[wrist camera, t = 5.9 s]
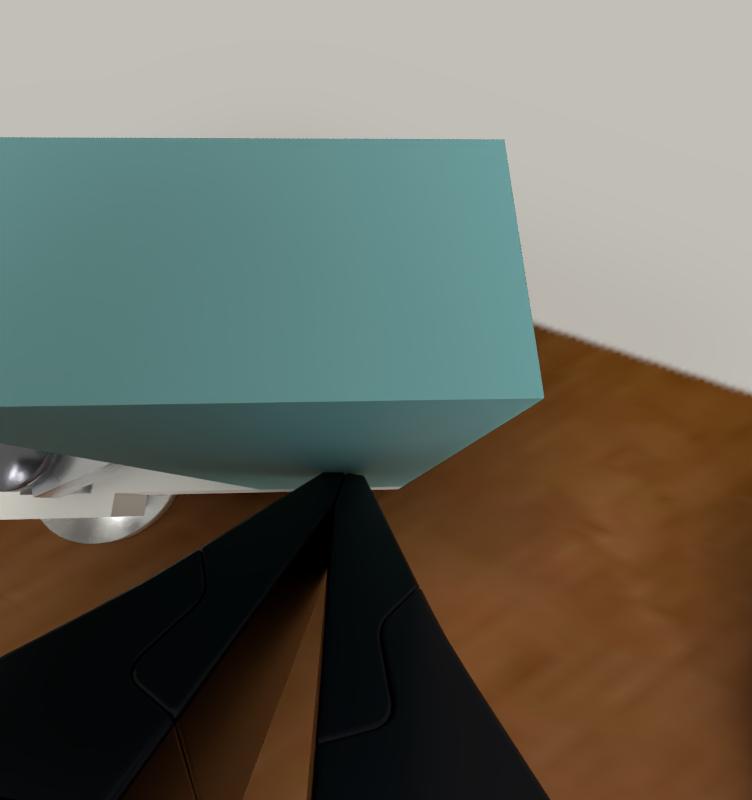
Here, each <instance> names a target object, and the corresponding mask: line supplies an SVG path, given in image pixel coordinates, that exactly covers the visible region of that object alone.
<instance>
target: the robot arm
mask: <svg viewBox="0 0 752 800" xmlns="http://www.w3.org/2000/svg"><path fill="white" fill-rule="evenodd" d="M326 572H327V579H326V590H325V601H324V612H323V623H322V634H321V645H320V656H319V667H318V678H317V689H316V700H315V711H314V722H313V733H312V744H311V755H310V766H309V777H308V788H307V799H306V800H550V799H549V797H548V795H547V794H546V792H545V791H544V789H543V788H542V786H541V785H540V783H539V782H538V780H537V778H536V777H535V775H534V774H533V772H532V771H531V769H530V768H529V766H528V765H527V763H526V761H525V760H524V758H523V757H522V755H521V754H520V752H519V751H518V749H517V748H516V746H515V744H514V743H513V741H512V740H511V738H510V737H509V735H508V734H507V732H506V731H505V729H504V727H503V726H502V724H501V723H500V721H499V720H498V718H497V717H496V715H495V714H494V712H493V710H492V709H491V707H490V706H489V704H488V703H487V701H486V700H485V698H484V697H483V695H482V693H481V692H480V690H479V689H478V687H477V686H476V684H475V683H474V681H473V680H472V678H471V677H470V675H469V673H468V672H467V670H466V668H465V667H464V665H463V664H462V662H461V660H460V659H459V657H458V655H457V654H456V652H455V651H454V649H453V647H452V646H451V644H450V643H449V641H448V639H447V637H446V636H445V634H444V632H443V630H442V628H441V626H440V625H439V623H438V621H437V619H436V617H435V615H434V613H433V612H432V610H431V608H430V606H429V604H428V602H427V600H426V598H425V596H424V594H423V592H422V590H421V589H419V585H418V583H417V581H416V579H415V577H414V575H413V573H412V571H411V569H410V567H409V565H408V563H407V561H406V559H405V557H404V555H403V553H402V551H401V549H400V547H399V545H398V543H397V541H396V539H395V537H394V535H393V532H392V530H391V528H390V526H389V524H388V522H387V520H386V518H385V516H384V514H383V512H382V510H381V508H380V506H379V504H378V502H377V500H376V498H375V496H374V494H373V492H372V490H371V488H370V486H369V484H368V482H367V480H366V478H365V477H364V476H363V475H358V474H352V473H347V474H346V475H345V473H343V472H322V473H321V474H319V475H318V476H316V477H314V478H313V479H311V480H310V481H308V482H306V483H305V484H303V485H301V486H300V487H298V488H297V489H295V490H293V491H292V492H290V493H289V494H287V495H285V496H284V497H282V498H281V499H279V500H277V501H276V502H274V503H273V504H271V505H269V506H268V507H266V508H265V509H263V510H261V511H260V512H258V513H257V514H255V515H253V516H252V517H250V518H248V519H247V520H245V521H244V522H242V523H240V524H239V525H237V526H236V527H234V528H232V529H231V530H229V531H228V532H226V533H224V534H223V535H221V536H220V537H218V538H216V539H215V540H213V541H212V542H210V543H208V544H207V545H205V546H204V547H202V548H201V551H200V550H196V551H194V552H192V553H191V554H189V555H188V556H186V557H184V558H183V559H181V560H180V561H178V562H176V563H175V564H173V565H171V566H170V567H168V568H166V569H164V570H163V571H161V572H159V573H158V574H156V575H154V576H153V577H151V578H149V579H148V580H146V581H144V582H142V583H141V584H139V585H137V586H135V587H133V588H131V589H130V590H128V591H126V592H124V593H122V594H120V595H118V596H117V597H115V598H113V599H111V600H109V601H107V602H105V603H104V604H102V605H100V606H98V607H96V608H94V609H92V610H90V611H88V612H87V613H85V614H83V615H81V616H79V617H77V618H75V619H73V620H71V621H69V622H67V623H65V624H63V625H61V626H60V627H58V628H56V629H54V630H52V631H50V632H48V633H46V634H44V635H42V636H40V637H38V638H36V639H34V640H33V641H31V642H29V643H27V644H25V645H23V646H21V647H19V648H17V649H15V650H13V651H11V652H9V653H8V654H6V655H4V656H2V657H0V800H242V798H243V795H244V793H245V790H246V787H247V785H248V782H249V779H250V777H251V774H252V771H253V769H254V766H255V763H256V761H257V758H258V755H259V753H260V750H261V747H262V745H263V742H264V739H265V737H266V734H267V731H268V728H269V726H270V723H271V720H272V718H273V715H274V712H275V710H276V707H277V704H278V702H279V699H280V696H281V694H282V691H283V688H284V686H285V683H286V680H287V678H288V675H289V672H290V670H291V667H292V664H293V661H294V659H295V656H296V653H297V651H298V648H299V645H300V643H301V640H302V637H303V635H304V632H305V629H306V627H307V624H308V621H309V619H310V616H311V613H312V611H313V608H314V605H315V603H316V600H317V597H318V595H319V592H320V589H321V586H322V584H323V581H324V578H325V575H326Z"/></svg>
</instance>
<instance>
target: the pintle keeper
mask: <svg viewBox="0 0 752 800" xmlns="http://www.w3.org/2000/svg"><path fill="white" fill-rule="evenodd" d="M128 467H130V466H124V465H119V464H113V463H107V462H102V461H96V460H91V459H85V458H79V457H74V456H68V455H62V454H57V453H51V452H46V451H40V450H34V449H29V448H23V447H17V446H12V445H6V444H0V492H20V491H24V490H28V489H30V488H31V490H32V494H33V497H40V498H61V497H63V496H65V495H68V494H87V493H91V491H92V486H93V483H95V482H97V481H99V480H101V479H104V478H106V477H108V476H110V475H113V474H115V473H117V472H119V471H122V470H124V469H126V468H128ZM177 495H178V494H166V495H147V501H146V508H145V515H144V516H128V517H93V518H51V519H41V520H42V522H43V523H44V524H45V525H46V526H47V527H48V528H49V529H50V530H51V531H52V532H54V533H55V534H57V535H58V536H60V537H62V538H64V539H67V540H70V541H73V542H77V543H84V544H98V543H105V542H113V541H118V540H122V539H126V538H128V537H131V536H133V535H136V534H138V533H139V532H141V531H143V530H145V529H146V528H148V527H149V526H151V525H152V524H153V523H155V522H156V521H157V520H158V519H159V518H160V517H161V516H162V515H163V514H164V513H165V512H166V511H167V510H168V509H169V507H170V506H171V504H172V503H173V502H174V500H175V499H176V497H177Z"/></svg>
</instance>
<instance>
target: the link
mask: <svg viewBox="0 0 752 800" xmlns="http://www.w3.org/2000/svg"><path fill="white" fill-rule="evenodd" d="M542 399H544V393H543V386H542V380H541V373H540V367H539V361H538V354H537V348H536V341H535V335H534V328H533V322H532V315H531V309H530V303H529V297H528V290H527V283H526V277H525V271H524V264H523V257H522V251H521V245H520V238H519V232H518V225H517V219H516V213H515V206H514V199H513V193H512V187H511V180H510V174H509V167H508V161H507V154H506V148H505V142H504V140H481V139H477V140H476V139H475V140H474V139H473V140H472V139H466V140H465V139H247V138H245V139H241V138H239V139H238V138H237V139H235V138H225V139H224V138H15V137H14V138H13V137H11V138H10V137H8V138H7V137H4V138H3V137H0V444H6V445H12V446H17V447H23V448H29V449H34V450H40V451H46V452H51V453H57V454H62V455H68V456H74V457H79V458H85V459H91V460H96V461H102V462H107V463H113V464H119V465H124V466H130V467H128V468H126V469H124V470H122V471H119V472H117V473H115V474H113V475H110V476H108V477H106V478H104V479H101V480H99V481H97V482H95V483H93V486H92V491H91V493H87V494H68V495H65V496H63V497H61V498H40V497H33V494H32V490H31V488H30V489H28V490H24V491H20V492H0V520H9V519H51V518H93V517H128V516H144V515H145V508H146V501H147V495H166V494H210V493H255V492H292V491H293V490H295V489H297V488H298V487H300V486H301V485H303V484H305V483H306V482H308V481H310V480H311V479H313V478H314V477H316V476H318V475H319V474H321V473H322V472H343V473H345V475H346V474H347V473H352V474H358V475H363V476H364V477H365V478H366V480H367V482H368V484H369V486H370V488H371V490H388V489H399V488H401V487H403V486H404V485H406V484H407V483H409V482H411V481H412V480H414V479H415V478H417V477H419V476H420V475H422V474H423V473H425V472H427V471H428V470H430V469H432V468H433V467H435V466H436V465H438V464H440V463H441V462H443V461H444V460H446V459H448V458H449V457H451V456H452V455H454V454H456V453H457V452H459V451H460V450H462V449H464V448H465V447H467V446H468V445H470V444H472V443H473V442H475V441H476V440H478V439H480V438H481V437H483V436H485V435H486V434H488V433H489V432H491V431H493V430H494V429H496V428H497V427H499V426H501V425H502V424H504V423H505V422H507V421H509V420H510V419H512V418H513V417H515V416H517V415H518V414H520V413H521V412H523V411H525V410H526V409H528V408H529V407H531V406H533V405H534V404H536V403H538V402H539V401H541V400H542Z"/></svg>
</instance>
